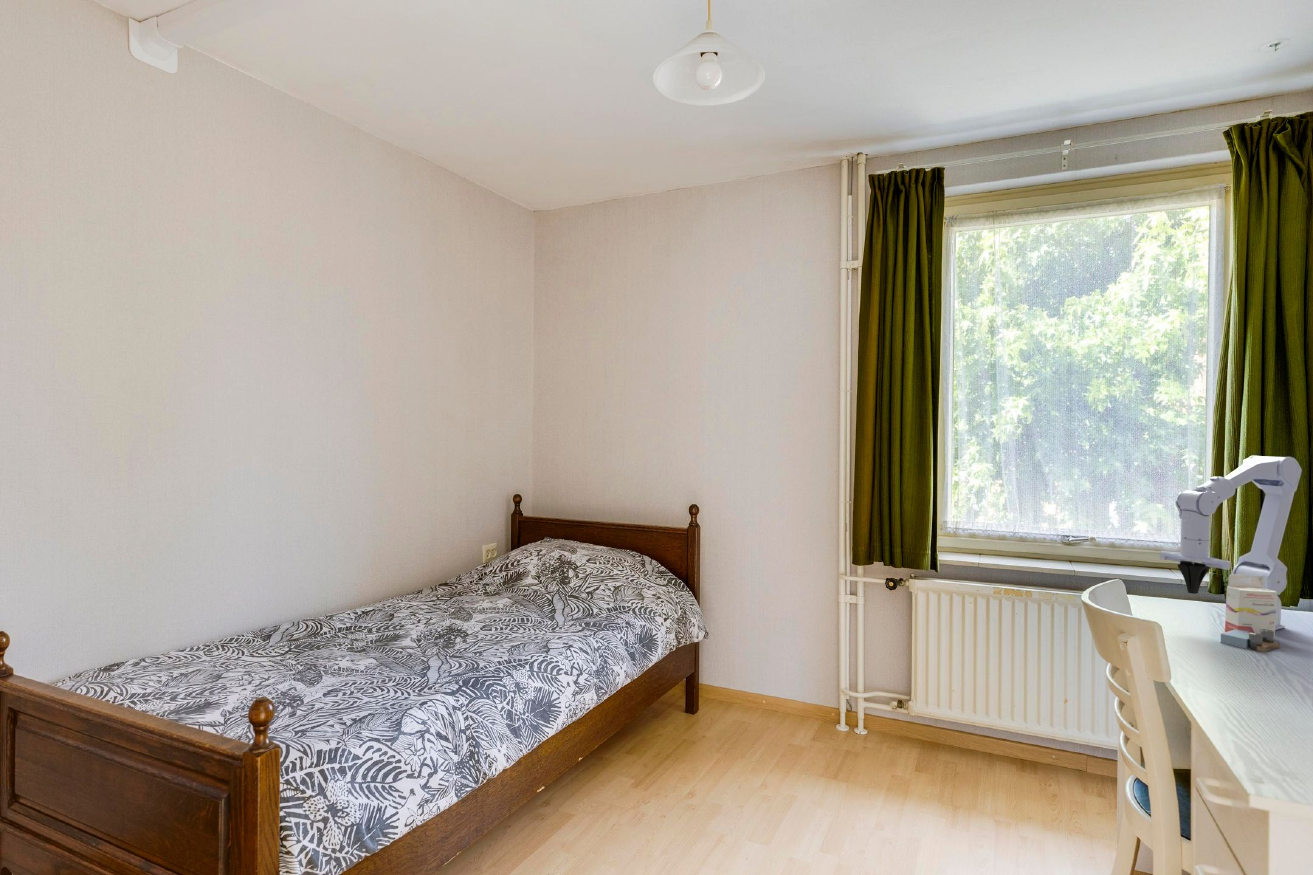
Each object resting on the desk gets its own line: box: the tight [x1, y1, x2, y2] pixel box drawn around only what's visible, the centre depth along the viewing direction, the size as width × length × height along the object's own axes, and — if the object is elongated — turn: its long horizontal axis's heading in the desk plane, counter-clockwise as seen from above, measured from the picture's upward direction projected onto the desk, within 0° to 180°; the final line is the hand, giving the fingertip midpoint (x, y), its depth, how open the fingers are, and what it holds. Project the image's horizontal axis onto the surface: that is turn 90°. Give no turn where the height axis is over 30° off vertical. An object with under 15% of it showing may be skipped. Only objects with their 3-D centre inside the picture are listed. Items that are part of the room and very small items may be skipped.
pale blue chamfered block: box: [1220, 629, 1250, 649], centre depth 168 cm, size 8×5×2 cm, turn 120°
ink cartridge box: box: [1224, 573, 1278, 640], centre depth 174 cm, size 9×5×15 cm, turn 84°
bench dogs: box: [1247, 629, 1280, 653], centre depth 164 cm, size 8×3×4 cm, turn 120°
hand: (1192, 592), depth 178 cm, fingers closed
